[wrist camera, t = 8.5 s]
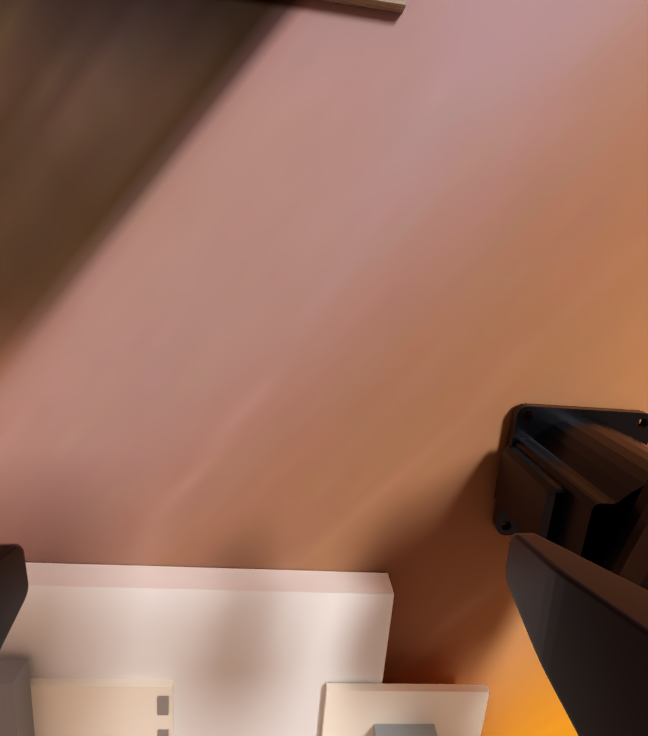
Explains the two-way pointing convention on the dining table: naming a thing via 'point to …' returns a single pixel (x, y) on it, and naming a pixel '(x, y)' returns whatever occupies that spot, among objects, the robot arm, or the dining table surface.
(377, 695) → the cream plate grey block
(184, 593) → the board
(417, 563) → the dining table surface
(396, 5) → the picture frame
